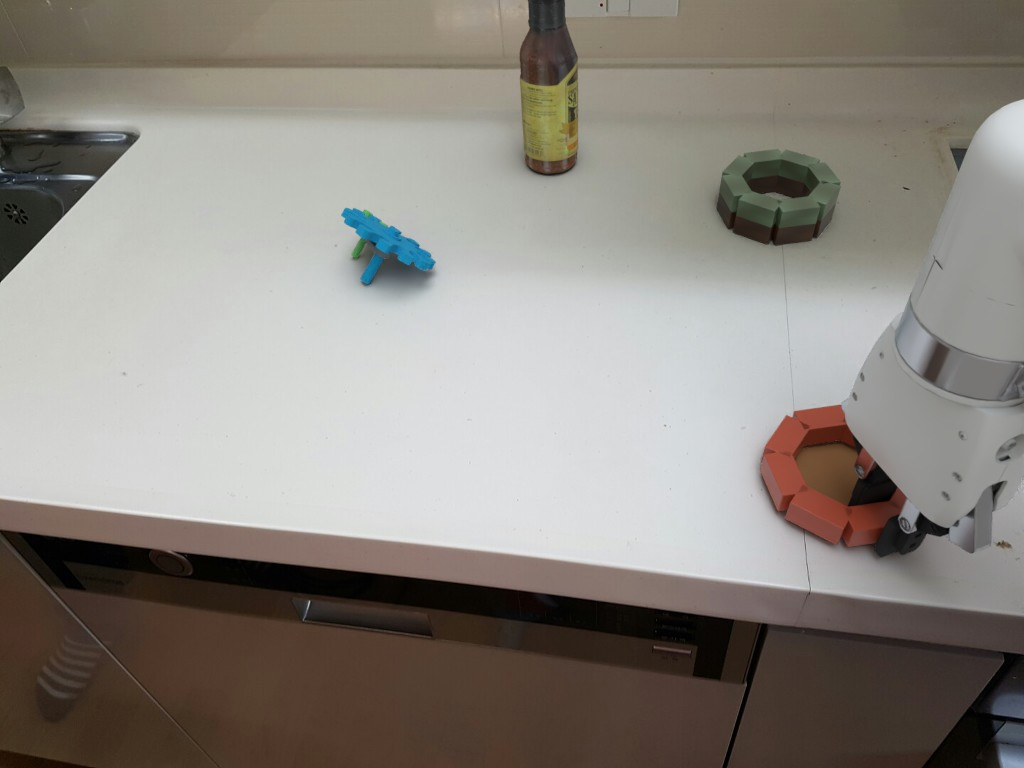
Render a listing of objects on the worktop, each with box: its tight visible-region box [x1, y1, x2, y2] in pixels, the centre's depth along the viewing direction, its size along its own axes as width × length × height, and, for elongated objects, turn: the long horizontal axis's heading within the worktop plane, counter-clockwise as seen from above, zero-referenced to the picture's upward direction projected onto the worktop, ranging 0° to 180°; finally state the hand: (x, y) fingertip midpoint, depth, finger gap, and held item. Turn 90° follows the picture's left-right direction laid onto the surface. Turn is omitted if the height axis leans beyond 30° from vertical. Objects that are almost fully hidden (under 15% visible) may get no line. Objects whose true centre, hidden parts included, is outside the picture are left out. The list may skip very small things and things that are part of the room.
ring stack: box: [716, 148, 842, 246], centre depth 81 cm, size 11×11×4 cm
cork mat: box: [795, 441, 859, 506], centre depth 58 cm, size 7×7×1 cm
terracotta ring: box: [759, 404, 907, 548], centre depth 57 cm, size 11×11×2 cm
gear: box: [340, 207, 437, 285], centre depth 77 cm, size 11×6×10 cm
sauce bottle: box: [519, 0, 579, 175], centre depth 84 cm, size 7×6×20 cm
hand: (880, 527), depth 55 cm, fingers closed on terracotta ring, 2 cm apart
